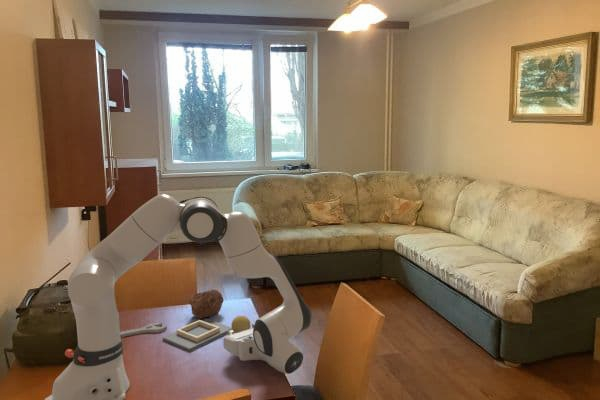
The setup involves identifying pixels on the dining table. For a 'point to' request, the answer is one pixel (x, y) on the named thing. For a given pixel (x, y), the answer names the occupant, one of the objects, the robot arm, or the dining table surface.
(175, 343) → the board
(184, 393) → the dining table surface
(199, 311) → the decorative rock
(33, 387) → the dining table surface
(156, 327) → the adjustable wrench
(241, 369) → the dining table surface
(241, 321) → the light bulb
